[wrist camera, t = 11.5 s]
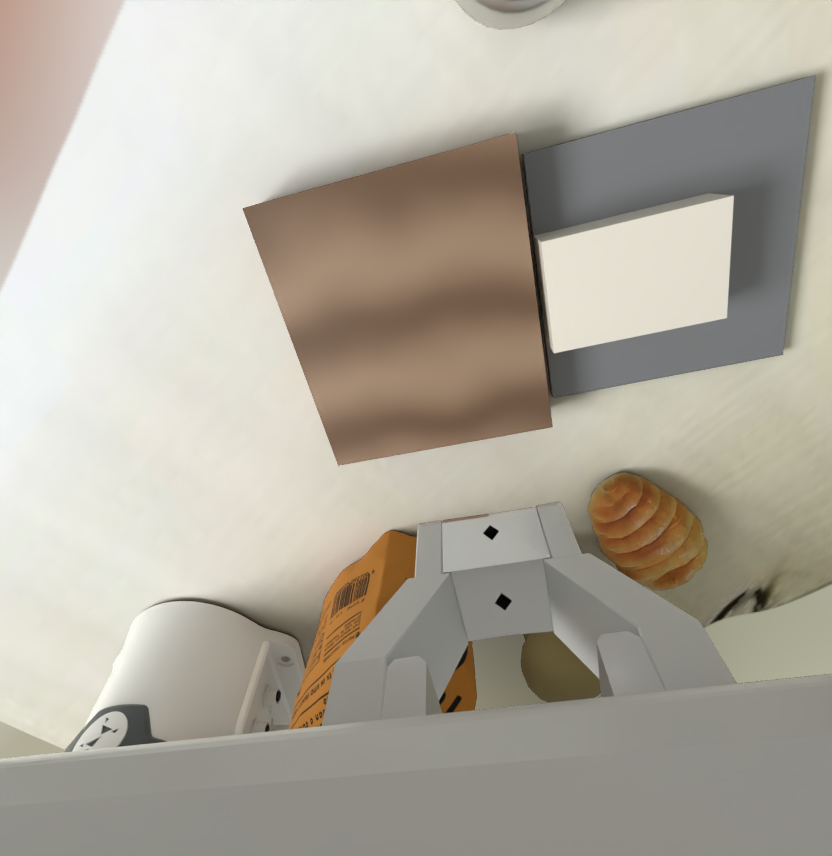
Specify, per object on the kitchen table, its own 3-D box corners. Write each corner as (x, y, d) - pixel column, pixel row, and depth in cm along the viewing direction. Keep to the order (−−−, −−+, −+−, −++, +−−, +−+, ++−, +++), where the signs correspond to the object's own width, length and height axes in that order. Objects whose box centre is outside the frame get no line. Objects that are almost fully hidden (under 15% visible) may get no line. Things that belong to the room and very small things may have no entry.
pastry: (559, 499, 36) (572, 533, 32) (642, 447, 33) (664, 479, 30) (627, 572, 39) (645, 610, 35) (707, 529, 36) (734, 566, 33)
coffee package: (489, 573, 39) (532, 967, 20) (398, 649, 44) (362, 1022, 25) (391, 511, 37) (331, 892, 17) (306, 598, 42) (187, 970, 22)
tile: (704, 306, 28) (726, 318, 25) (545, 339, 29) (553, 353, 27) (708, 193, 25) (734, 195, 23) (533, 235, 26) (541, 242, 24)
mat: (776, 351, 29) (782, 354, 29) (551, 394, 31) (553, 398, 31) (806, 77, 23) (815, 75, 22) (522, 154, 25) (523, 154, 25)
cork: (575, 523, 36) (623, 652, 27) (579, 581, 39) (623, 717, 29) (495, 533, 37) (513, 661, 28) (504, 589, 40) (523, 723, 30)
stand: (545, 409, 32) (552, 427, 30) (345, 446, 34) (338, 465, 32) (509, 135, 25) (515, 132, 23) (259, 205, 27) (242, 208, 25)
